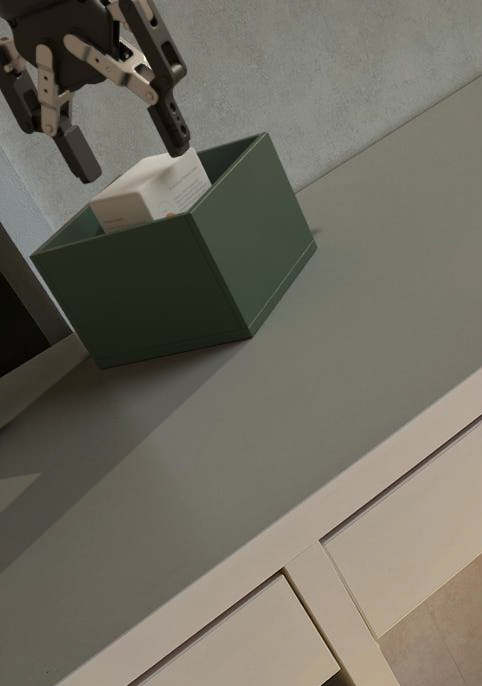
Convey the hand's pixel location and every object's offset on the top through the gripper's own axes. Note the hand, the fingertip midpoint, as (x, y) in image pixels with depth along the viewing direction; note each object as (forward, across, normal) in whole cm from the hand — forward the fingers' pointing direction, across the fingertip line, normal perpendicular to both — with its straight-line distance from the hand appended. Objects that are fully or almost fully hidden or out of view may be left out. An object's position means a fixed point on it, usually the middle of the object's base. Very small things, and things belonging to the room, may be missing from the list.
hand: (136, 166), depth 81 cm
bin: (+12, 0, 0) cm, 12 cm away
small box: (+11, 0, 0) cm, 11 cm away
